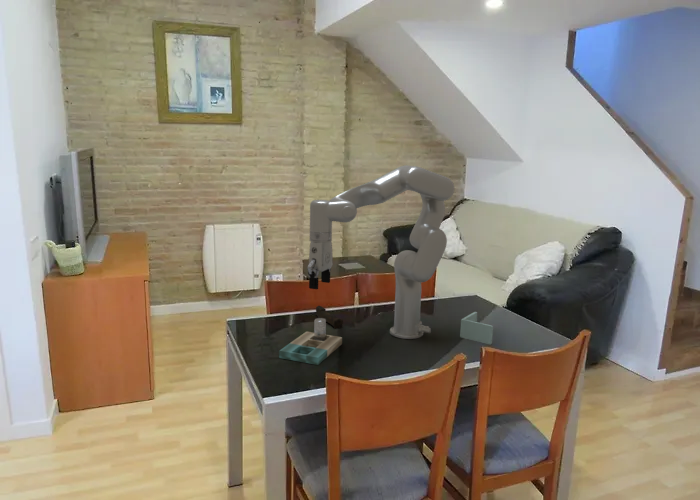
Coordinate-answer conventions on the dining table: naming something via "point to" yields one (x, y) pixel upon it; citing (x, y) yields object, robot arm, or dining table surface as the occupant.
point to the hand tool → (329, 317)
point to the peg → (320, 329)
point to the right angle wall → (476, 329)
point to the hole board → (310, 348)
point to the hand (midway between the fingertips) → (319, 285)
